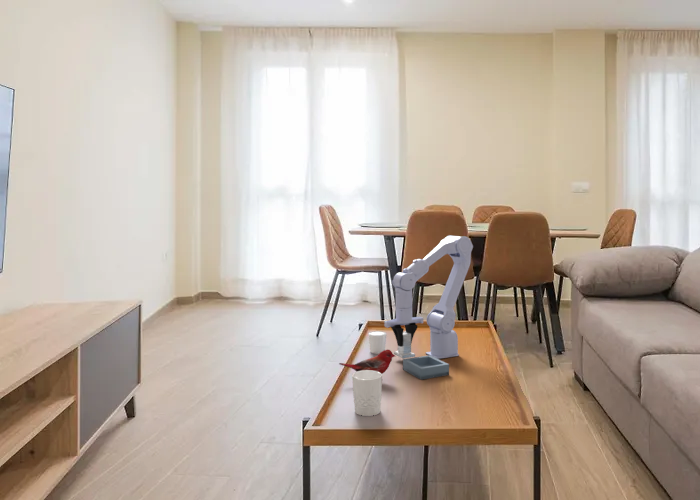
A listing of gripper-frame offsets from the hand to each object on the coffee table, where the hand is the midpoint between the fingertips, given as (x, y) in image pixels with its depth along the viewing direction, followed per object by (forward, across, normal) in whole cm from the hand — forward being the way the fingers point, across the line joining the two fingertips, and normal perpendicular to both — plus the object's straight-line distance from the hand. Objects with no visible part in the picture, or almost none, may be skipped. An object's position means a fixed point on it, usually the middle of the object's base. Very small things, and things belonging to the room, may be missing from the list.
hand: (404, 345), depth 180 cm
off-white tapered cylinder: (+6, +3, -15) cm, 16 cm away
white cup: (+6, +31, +35) cm, 47 cm away
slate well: (+6, 0, +14) cm, 15 cm away
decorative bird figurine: (+6, +21, +14) cm, 26 cm away
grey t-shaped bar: (+4, 0, 0) cm, 4 cm away
